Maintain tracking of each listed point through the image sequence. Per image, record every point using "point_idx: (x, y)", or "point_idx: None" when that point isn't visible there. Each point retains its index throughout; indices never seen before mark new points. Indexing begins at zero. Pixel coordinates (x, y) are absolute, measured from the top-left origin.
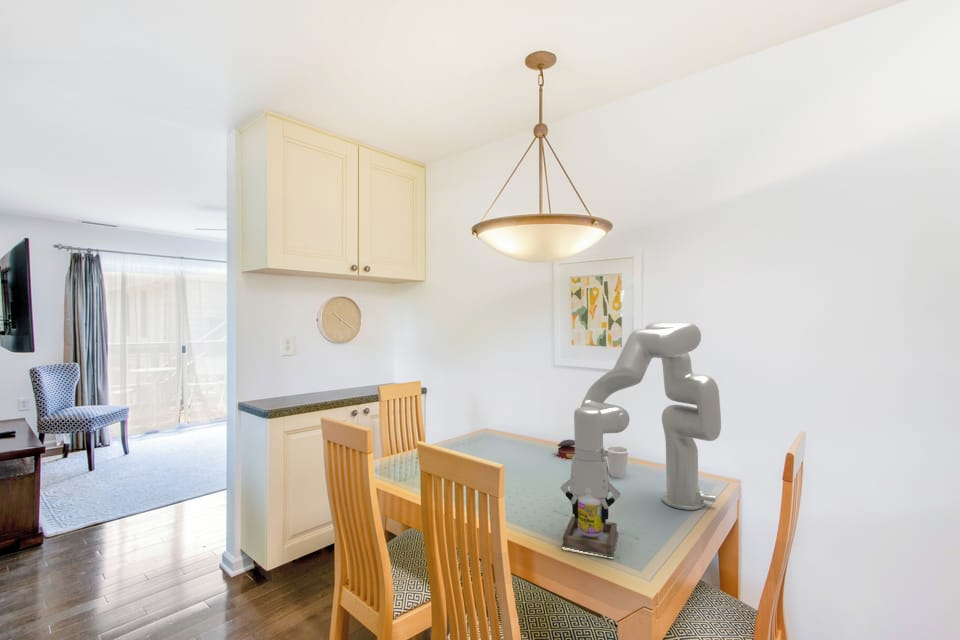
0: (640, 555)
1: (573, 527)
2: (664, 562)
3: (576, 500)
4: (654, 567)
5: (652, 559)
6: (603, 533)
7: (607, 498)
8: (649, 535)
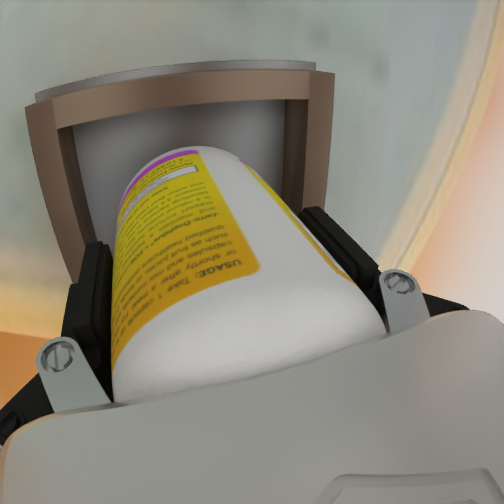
0: (380, 196)
1: (76, 189)
2: (429, 205)
3: (108, 391)
4: (402, 242)
5: (407, 204)
6: (242, 111)
7: (426, 312)
8: (418, 35)
